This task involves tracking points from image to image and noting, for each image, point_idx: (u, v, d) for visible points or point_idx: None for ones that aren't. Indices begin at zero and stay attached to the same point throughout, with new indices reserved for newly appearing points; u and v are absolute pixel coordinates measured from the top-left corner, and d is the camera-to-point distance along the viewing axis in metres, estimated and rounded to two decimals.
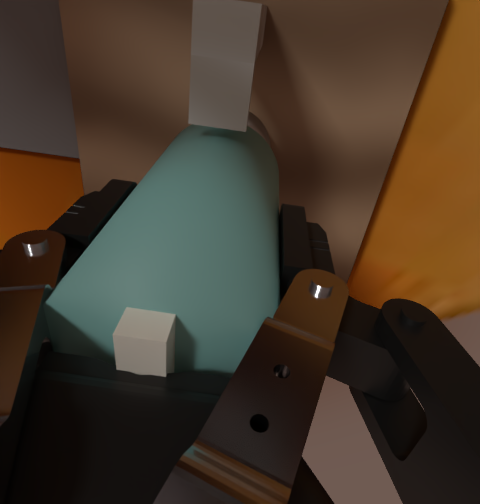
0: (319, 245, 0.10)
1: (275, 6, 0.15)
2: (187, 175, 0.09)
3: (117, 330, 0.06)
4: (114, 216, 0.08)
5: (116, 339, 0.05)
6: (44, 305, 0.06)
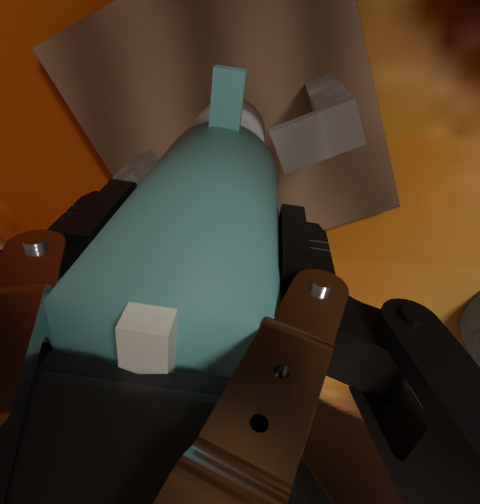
0: (319, 245, 0.10)
1: None
2: (189, 174, 0.09)
3: (120, 324, 0.06)
4: (116, 214, 0.08)
5: (118, 333, 0.05)
6: (46, 300, 0.06)
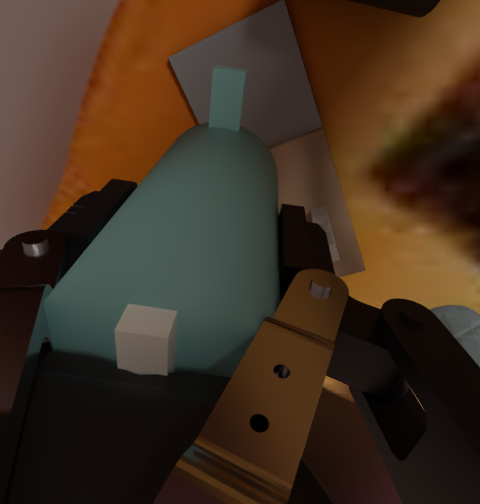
0: (319, 245, 0.10)
1: (331, 223, 0.36)
2: (189, 175, 0.09)
3: (119, 326, 0.06)
4: (115, 215, 0.08)
5: (118, 335, 0.05)
6: (46, 301, 0.06)
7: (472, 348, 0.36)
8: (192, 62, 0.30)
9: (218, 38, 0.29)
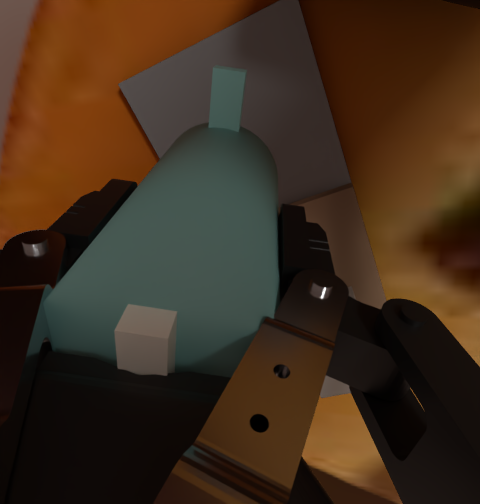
0: (319, 245, 0.10)
1: None
2: (189, 175, 0.09)
3: (119, 327, 0.06)
4: (115, 216, 0.08)
5: (118, 335, 0.05)
6: (45, 302, 0.06)
7: None
8: (155, 91, 0.20)
9: (193, 55, 0.19)
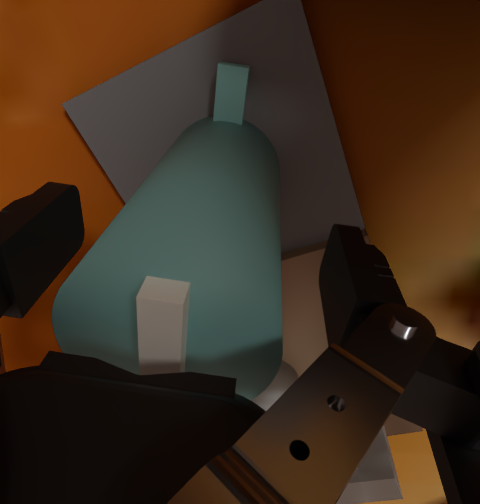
0: (381, 271, 0.10)
1: None
2: (196, 165, 0.10)
3: (140, 295, 0.06)
4: (130, 201, 0.09)
5: (139, 301, 0.06)
6: (73, 274, 0.07)
7: None
8: (110, 113, 0.15)
9: (158, 67, 0.14)
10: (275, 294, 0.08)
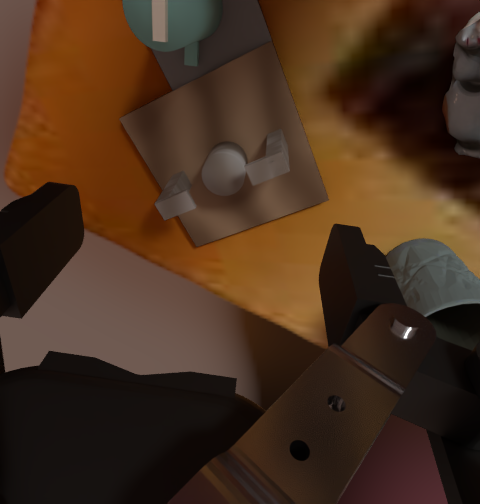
0: (382, 271, 0.10)
1: (289, 148, 0.36)
2: None
3: None
4: None
5: None
6: None
7: (436, 272, 0.36)
8: None
9: None
10: None
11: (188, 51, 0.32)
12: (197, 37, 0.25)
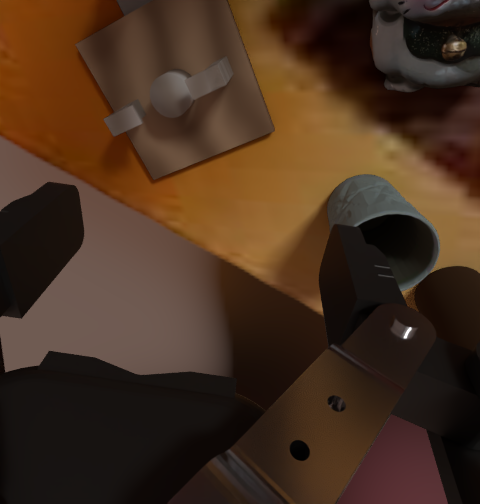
0: (382, 271, 0.10)
1: (235, 76, 0.38)
2: None
3: None
4: None
5: None
6: None
7: (369, 195, 0.38)
8: None
9: None
10: None
11: None
12: None
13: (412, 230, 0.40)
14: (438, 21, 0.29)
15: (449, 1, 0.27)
